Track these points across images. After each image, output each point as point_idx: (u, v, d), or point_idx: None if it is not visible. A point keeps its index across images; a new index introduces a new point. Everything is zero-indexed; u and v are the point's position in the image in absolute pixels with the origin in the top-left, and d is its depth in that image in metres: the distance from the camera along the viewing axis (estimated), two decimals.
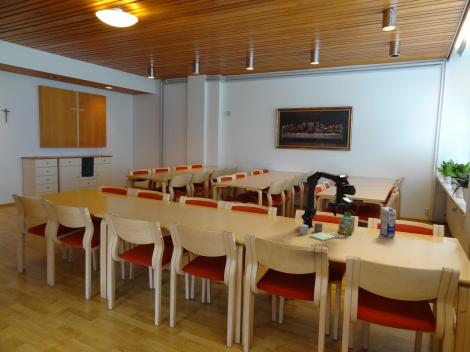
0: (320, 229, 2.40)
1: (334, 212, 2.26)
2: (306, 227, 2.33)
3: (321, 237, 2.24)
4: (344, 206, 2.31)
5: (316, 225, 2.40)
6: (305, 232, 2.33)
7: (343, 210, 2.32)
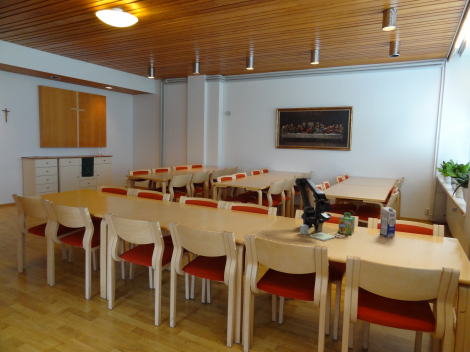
0: (320, 229, 2.40)
1: (315, 226, 2.39)
2: (306, 227, 2.33)
3: (321, 237, 2.24)
4: (321, 221, 2.42)
5: None
6: (305, 232, 2.33)
7: None
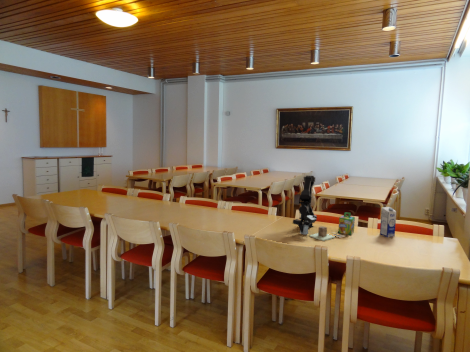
0: (324, 233, 2.26)
1: (301, 229, 2.33)
2: (306, 227, 2.33)
3: (321, 237, 2.24)
4: (307, 223, 2.36)
5: (320, 229, 2.26)
6: (305, 232, 2.33)
7: None
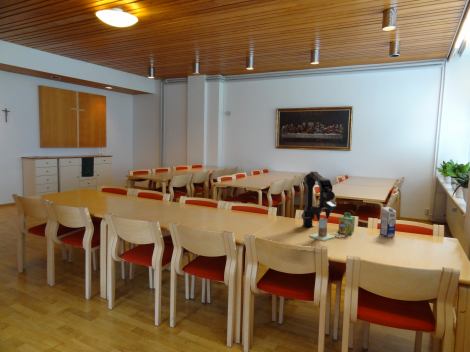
0: (324, 233, 2.26)
1: (317, 216, 2.22)
2: (325, 220, 2.24)
3: (321, 237, 2.24)
4: (328, 210, 2.28)
5: (320, 229, 2.26)
6: (324, 226, 2.24)
7: (327, 214, 2.28)
